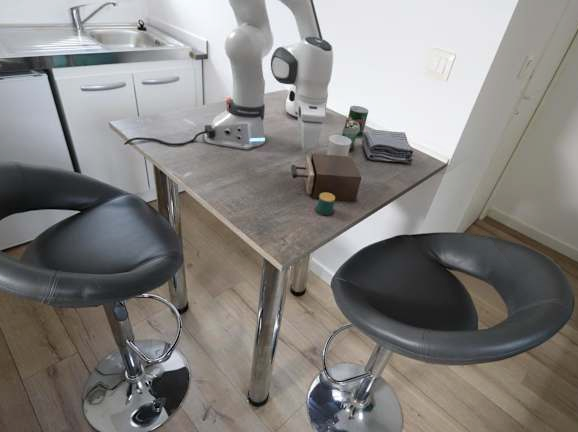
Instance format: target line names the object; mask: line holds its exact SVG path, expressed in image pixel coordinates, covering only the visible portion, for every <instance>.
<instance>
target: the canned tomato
mask: <svg viewBox="0 0 578 432" xmlns="http://www.w3.org/2000/svg"><path fill="white" fill-rule="evenodd" d="M368 114H369V110H368V108H366V107H364V106H359V105H351V106H350V107H349V112H348V116H347V118H348V119H352V120H354V121H356V122H358V123H359V126H360V132H359V133H357V136H356V138H361V137H364V132H365V127H366V123H367V119H368Z"/></svg>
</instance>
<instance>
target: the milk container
mask: <svg viewBox="0 0 578 432" xmlns="http://www.w3.org/2000/svg"><path fill="white" fill-rule="evenodd" d="M295 91H296V87H295V85H292V84H289V91H288V95H287V97H286V101H285V111H286V113H287V114H288V115H290V116H291V117H292V118H295V119H298V115H297V112H296V111H295V110H294V100H295Z"/></svg>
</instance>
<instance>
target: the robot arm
mask: <svg viewBox="0 0 578 432" xmlns="http://www.w3.org/2000/svg"><path fill="white" fill-rule="evenodd" d="M278 2H280V3H281V4H283V5H285V6H286V8H287V9H289V11H291V13H292V15H293V16H294V20H295V23H296V26H297V30H298V33H299V37H300V40H301V41H299V42H297V43H294V44H288V45H283V46H278V47H277V48H276V49H275V50H273V53H272V55H271V59H270V71H271V74H272V76H273V78H274V79H275V80H276V81H277V82H278V83H280V84H283V85H290V84H292V85H295V87H296V91H295V100H294V110H295V111H296V112H297V115H298V118H297V127H298V131H299V136H300V152H301V153H302V154H307V153H308V151H315V150H317V147H318V145H319V140H320V135H321V132H322V126H323V123H325V122H326V118H327V117H326V111H327V104H328V98H329V92H328V91H329V84H330V82H331V80H332V79H331V78H332V73H333V65H334V51H333V46H332V45H331V43H330V42H328V41H327V40H325V39H323V36H322V35H323V34H322V32H321V28H320V23H319V19H318V16H317V11H316V8H315V4H314V0H278ZM228 3H229V6H230V7H231V9H232V11H233V13H234V17H235V20H236V24H237V27H235V28H234V29H232V31H230V33H229V34H228V35H227V37H226V38H225V41H224V51H225V55H226V56H227V59H229V64H230V69H231V75H232V97H227V98H226V100H225V101H226V110H224V111H222V112H221V113H219V114H217V115H216V116H214V118H213V119H212V122H211V124H207V125H205V124H204V131H200V132H198V133H196V134H195V135H194V137H193V138H192V139H191V140H189V141H186V142H178V143H177V142H176V143H175V142H174V143H173V142H167V141H164V140H161V139H159V138H153V137H142V136H141V137H140V136H139V137H132V138H130V139H128V140H126V141H125V142H124V143H123V145H124V146H125V145H128V144H129V143H131V142H133V141H136V140H137V141H138V140H139V141H142V140H143V141H155V142H158V143H161V144H164V145H166V146H184V145H187V144H190V143H191V144H192V143H193V142H195V141H196V139H198V137H199V136H201V135H203V134H204V141H205V142H206V143H207V144H211V145H216V146H223V147H227V148H228V147H229V148H234V149H241V150H250V149H252V148H255V147H259V146H261V145H264V144H265V142H266V137H265V130H264V119H265V111H266V107H265V105H266V104H265V90H266V89H265V88H266V79H265V77H264V71H263V60H264V58H265V57H267V56H268V55H269V54H270V53H271V51H272V49H273V47H274V42H275V39H274V33H273V32H272V28H271V24H270V23H271V22H270V20H269V15H268V10H267V5H266V0H228Z"/></svg>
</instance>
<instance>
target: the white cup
mask: <svg viewBox="0 0 578 432" xmlns="http://www.w3.org/2000/svg"><path fill="white" fill-rule="evenodd" d="M350 146H351V140H350V139H349V138H347V137H345V136H342V134H341V135H340V134H333V135H329V136H328V142H327V148H326V155H336V156H347V157H349V153H350V151H349V149H350Z"/></svg>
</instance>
